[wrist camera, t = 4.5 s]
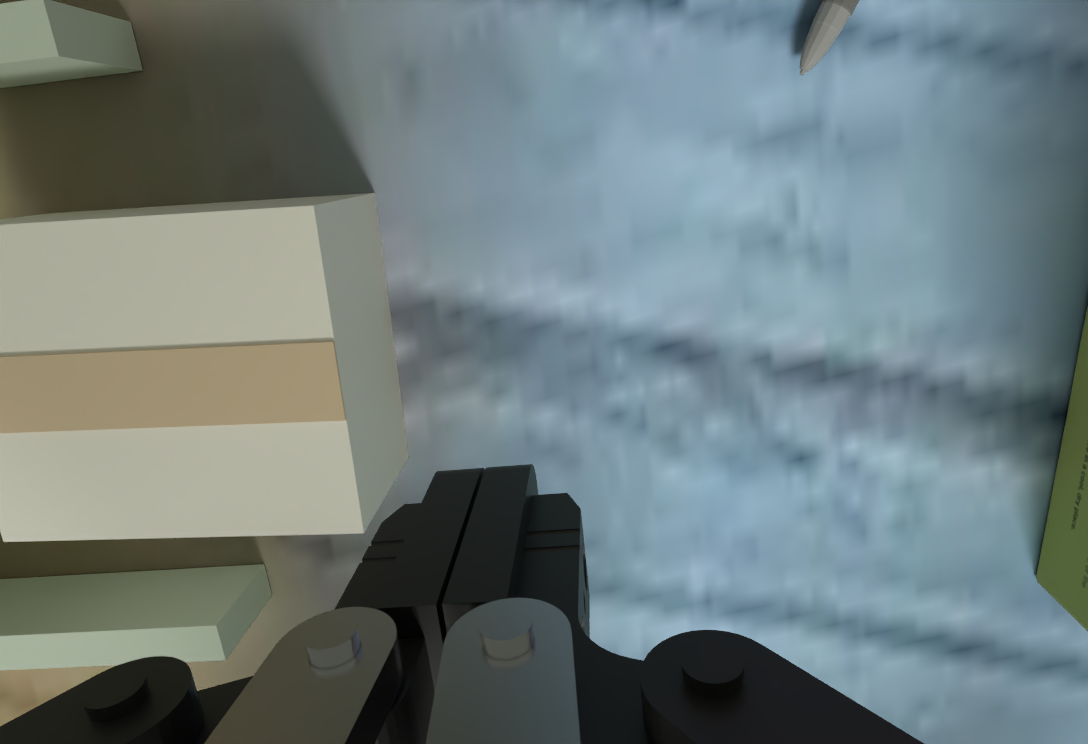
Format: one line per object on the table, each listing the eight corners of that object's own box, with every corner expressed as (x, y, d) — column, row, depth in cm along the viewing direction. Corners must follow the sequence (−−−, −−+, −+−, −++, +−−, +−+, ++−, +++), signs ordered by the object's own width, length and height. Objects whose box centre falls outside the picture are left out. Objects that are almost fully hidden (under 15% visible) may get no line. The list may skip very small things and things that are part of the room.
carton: (376, 192, 25) (312, 205, 19) (410, 455, 28) (362, 535, 22) (54, 212, 26) (-100, 231, 20) (119, 464, 29) (1, 543, 23)
